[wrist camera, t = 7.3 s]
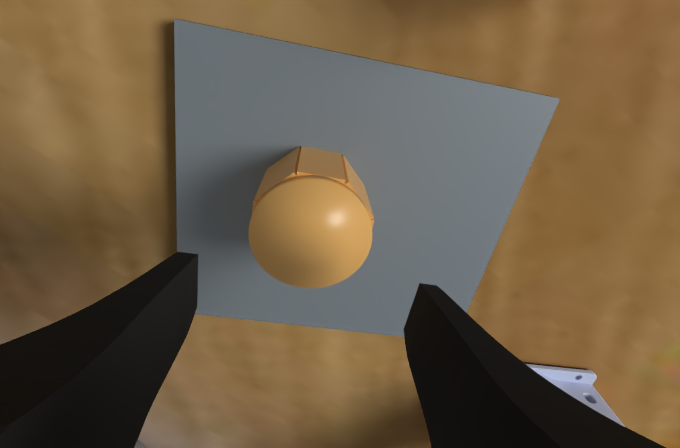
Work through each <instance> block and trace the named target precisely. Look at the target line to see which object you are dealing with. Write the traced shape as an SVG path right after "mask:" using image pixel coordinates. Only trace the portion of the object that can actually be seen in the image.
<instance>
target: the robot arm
mask: <svg viewBox="0 0 680 448" xmlns="http://www.w3.org/2000/svg"><path fill="white" fill-rule="evenodd" d="M197 297H198V254H192V253H185V252H177V253H175V254H173V255H172V256H170V257H169V258H167V259H166V260H164V261H163V262H161V263H160V264H158V265H157V266H155V267H154V268H152V269H151V270H149V271H148V272H146V273H145V274H143V275H141V276H140V277H138V278H137V279H135V280H134V281H132V282H131V283H129V284H127V285H126V286H124V287H122V288H120V289H119V290H117V291H115V292H113V293H112V294H110V295H108V296H106V297H105V298H103V299H101V300H99V301H98V302H96V303H94V304H92V305H90V306H88V307H86V308H84V309H82V310H80V311H79V312H76V313H74V314H72V315H70V316H68V317H66V318H64V319H62V320H59V321H57V322H55V323H53V324H51V325H48V326H46V327H43V328H41V329H38V330H36V331H34V332H31V333H29V334H26V335H24V336H21V337H19V338H16V339H14V340H11V341H9V342H6V343H4V344H1V345H0V448H134V447H135V445H136V442H137V439H138V437H139V434H140V432H141V429H142V427H143V424H144V422H145V419H146V417H147V414H148V412H149V410H150V408H151V406H152V403H153V401H154V399H155V397H156V395H157V393H158V391H159V389H160V387H161V385H162V383H163V381H164V380H165V378H166V376H167V374H168V372H169V370H170V368H171V366H172V364H173V362H174V360H175V358H176V356H177V354H178V352H179V350H180V348H181V346H182V344H183V342H184V340H185V338H186V336H187V334H188V331H189V328H190V326H191V323H192V320H193V317H194V314H195V311H196V309H197ZM403 330H404V337H405V345H406V351H407V357H408V361H409V365H410V368H411V372H412V375H413V379H414V382H415V386H416V389H417V393H418V396H419V400H420V403H421V407H422V410H423V413H424V417H425V420H426V424H427V428H428V432H429V436H430V442H431V447H432V448H666V447H664V446H662V445H660V444H658V443H656V442H654V441H652V440H650V439H648V438H646V437H644V436H642V435H640V434H638V433H636V432H634V431H632V430H630V429H628V428H626V427H625V426H624V425H623V424H622V422H621V421H620V420H619V419H618V417H617V416H616V415H615V413H614V412H613V411H612V410H611V408H610V407H609V406H608V405H607V403H606V402H605V401H604V399H603V398H602V397H601V396H600V394H599V393H598V392H597V391H596V389H595V388H594V387H593V385H592V384H593V383H594V381H595V380H596V378H597V377H596V375H595V373H594V372H593V371H590V370H580V369H571V368H561V367H551V366H542V365H532V364H525V363H523V362H522V361H521V360H519V359H518V358H517V357H515V356H514V355H513V354H512V353H510V352H509V351H508V350H507V349H506V348H504V347H503V346H502V345H501V344H500V343H499V342H497V341H496V340H495V339H494V338H493V337H492V336H491V335H489V334H488V333H487V332H486V331H485V330H484V329H483V328H482V327H481V326H480V325H478V324H477V323H476V322H475V321H474V320H473V319H472V318H471V317H470V316H469V315H468V314H467V313H466V312H465V311H464V310H463V309H462V308H461V307H460V306H459V305H458V304H457V303H456V302H455V301H453V300H452V299H451V298H450V297H449V296H448V295H447V294H446V293H445V292H444V291H443V290H442V289H441V288H439V287H438V286H437V285H430V284H423V283H419V286H418V289H417V292H416V295H415V298H414V300H413V303H412V306H411V309H410V312H409V315H408V318H407V321H406V324H405V326H404V329H403Z"/></svg>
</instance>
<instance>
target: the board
mask: <svg viewBox="0 0 680 448" xmlns="http://www.w3.org/2000/svg"><path fill="white" fill-rule="evenodd" d="M174 55H175V132H176V209H177V252H185V253H192V254H198V297H197V309H196V311H195V314H201V315H210V316H219V317H228V318H237V319H246V320H255V321H265V322H274V323H283V324H292V325H301V326H310V327H319V328H328V329H338V330H347V331H356V332H365V333H374V334H383V335H392V336H401V337H404V330H403V329H404V326H405V324H406V321H407V318H408V315H409V312H410V309H411V306H412V303H413V300H414V298H415V295H416V292H417V289H418V286H419V283H423V284H430V285H437V286H438V287H439V288H441V289H442V290H443V291H444V292H445V293H446V294H447V295H448V296H449V297H450V298H451V299H452V300H453V301H455V302H456V303H457V304H458V305H459V306H460V307H461V308H462V309H463V310H464V311H465V312H466V313H467V310H468V308H469V306H470V304H471V301H472V299H473V297H474V294H475V292H476V290H477V288H478V285H479V283H480V281H481V278H482V276H483V274H484V272H485V269H486V267H487V265H488V262H489V260H490V258H491V255H492V253H493V251H494V249H495V246H496V244H497V242H498V239H499V237H500V235H501V233H502V230H503V228H504V226H505V223H506V221H507V219H508V217H509V214H510V212H511V210H512V207H513V205H514V203H515V201H516V198H517V196H518V194H519V191H520V189H521V187H522V184H523V182H524V180H525V178H526V175H527V173H528V171H529V168H530V166H531V164H532V162H533V159H534V157H535V155H536V152H537V150H538V148H539V146H540V143H541V141H542V139H543V136H544V134H545V132H546V130H547V127H548V125H549V123H550V120H551V118H552V116H553V113H554V111H555V109H556V107H557V104H558V102H559V100H560V99H559V98H555V97H551V96H547V95H542V94H537V93H532V92H528V91H523V90H518V89H513V88H508V87H503V86H499V85H494V84H489V83H484V82H479V81H474V80H470V79H465V78H460V77H455V76H450V75H446V74H441V73H436V72H431V71H426V70H421V69H417V68H412V67H407V66H402V65H397V64H392V63H388V62H383V61H378V60H373V59H368V58H363V57H359V56H354V55H349V54H344V53H339V52H335V51H330V50H325V49H320V48H315V47H310V46H306V45H301V44H296V43H291V42H286V41H281V40H277V39H272V38H267V37H262V36H257V35H252V34H248V33H243V32H238V31H233V30H228V29H224V28H219V27H214V26H209V25H204V24H199V23H195V22H190V21H185V20H179V19H174ZM302 146H304V147H309V148H315V149H320V150H326V151H331V152H337V153H341V156H342V155H344V156H345V158H346V159H347V161H348V162H349V164H350V165H351V167H352V168H353V170H354V171H355V173H356V174H357V175H358V177H359V178H360V180H361V181H362V183H363V184H364V186H365V189H366V193H367V196H368V199H369V203H370V206H371V209H372V213H373V216H374V224H373V228H372V244H371V248H370V251H369V254H368V256H367V258H366V260H365V261H364V263H363V264H362V265H361V267H360V268H359V269H358V270H357V271H356V272H355V273H353V274H352V275H351V276H350V277H348V278H347V279H345V280H343V281H341V282H339V283H337V284H334V285H331V286H327V287H322V288H300V287H295V286H291V285H288V284H285V283H283V282H281V281H279V280H277V279H275V278H274V277H272V276H271V275H270V274H268V273H267V272H266V271H265V270H264V269H263V268H262V267H261V266H260V265H259V263H258V262H257V260H256V259H255V257H254V255H253V253H252V251H251V247H250V244H249V236H248V235H249V224H250V220H251V217H252V208H253V201H254V198H255V196H256V193H257V191H258V189H259V186H260V184H261V181H262V179H263V177H264V174H265V172H266V170H267V168H269V167H270V166H272V165H273V164H275V163H276V162H278V161H279V160H280V159H282V158H283V157H285V156H286V155H288V154H289V153H291V152H292V151H293V150H295V149H296V148H298V147H299V148H300V149H301V147H302Z"/></svg>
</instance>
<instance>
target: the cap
mask: <svg viewBox="0 0 680 448" xmlns="http://www.w3.org/2000/svg"><path fill="white" fill-rule="evenodd" d="M373 224H374V216H373V213H372V209H371V206H370V203H369V199H368V196H367V193H366V189H365V186H364V184H363V183H362V181H361V180H360V178H359V177H358V175H357V174H356V173H355V171H354V170H353V168H352V167H351V165H350V164H349V162H348V161H347V159H346V158H345V156H344V155H342V156H341V153H337V152H331V151H326V150H320V149H315V148H309V147H304V146H302V147H301V149H300V148H299V147H298V148H296V149H295V150H293V151H292V152H291V153H289V154H288V155H286V156H285V157H283V158H282V159H280V160H279V161H278V162H276V163H275V164H273V165H272V166H270V167H269V168H267V170H266V172H265V174H264V177H263V179H262V181H261V184H260V186H259V189H258V191H257V193H256V196H255V198H254V201H253V208H252V217H251V220H250V224H249V235H248V236H249V244H250V247H251V251H252V253H253V255H254V257H255V259H256V260H257V262H258V263H259V265H260V266H261V267H262V268H263V269H264V270H265V271H266V272H267V273H268V274H270V275H271V276H272V277H274V278H275V279H277V280H279V281H281V282H283V283H285V284H288V285H291V286H295V287H300V288H322V287H327V286H331V285H334V284H337V283H339V282H341V281H343V280H345V279H347V278H348V277H350V276H351V275H352V274H353V273H355V272H356V271H357V270H358V269H359V268H360V267H361V265H362V264H363V263H364V261H365V260H366V258H367V256H368V254H369V251H370V248H371V244H372V228H373Z"/></svg>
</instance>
